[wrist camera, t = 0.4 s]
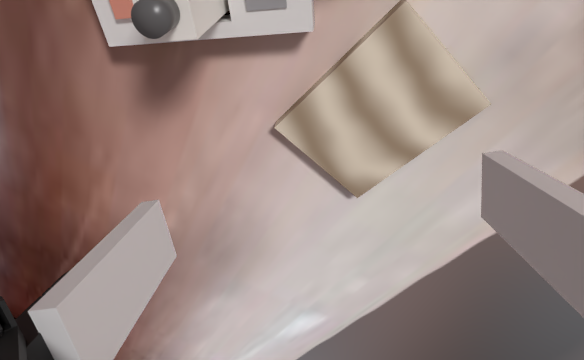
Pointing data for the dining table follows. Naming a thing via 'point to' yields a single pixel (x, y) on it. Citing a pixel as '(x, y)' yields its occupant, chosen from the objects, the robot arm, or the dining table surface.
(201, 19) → the plug
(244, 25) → the power strip
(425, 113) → the birch board
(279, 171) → the dining table surface
